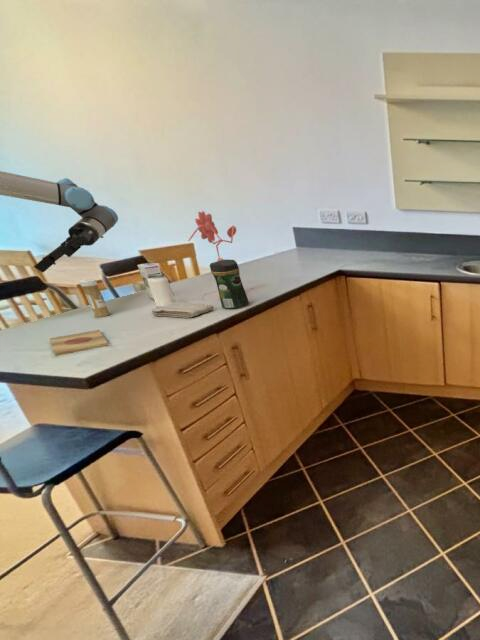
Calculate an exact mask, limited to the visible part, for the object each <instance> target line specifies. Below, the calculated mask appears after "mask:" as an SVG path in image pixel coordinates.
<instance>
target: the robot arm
mask: <svg viewBox="0 0 480 640" xmlns="http://www.w3.org/2000/svg"><path fill="white" fill-rule="evenodd" d="M0 196H5V197H11V198H16V199H20V200H21V199H22V200H27V201H33V202H39V203H44V204H50V205H55V206H56V205H57V206H59V207H66V208H70V209H71V210H73V211H74V212H75V213H76V214H77V215H79V216H80V217H81V218H80V219H79V220H77V222H75V223H74V224H73V225H72V226H71V227H69V228H68V230H67V232H68V235H69V236H68V237H66V239H65V240H64V241H62V242H61V243H60V245H59V246H57V247H56V248H55V249H54V250H52V251H51V252H49V253H48V254H46V255H45V256H43V257H42V259H41V260H40V261H38V262H37V263H36V264H34V265H33V268H35V269H36V270H37V271H39V272H40V273H45V272H46V271H47V270H48V269H49V268H51V267H52V266H53V265H54V266H55V265H57V263H56V261H58V260H60V258H62V257H63V256H66V257H68V258H71V257H72V256H73V255H74V254H75V253H76V252H78V251H79V250H80V249H81V248H82V247H83V246H92V245H94V244H96V243H97V241H98V240H99V239H104V235H105V234H106V233H107V232H109V231H110V230H111V229H112V228H113V227H115V225H116V224H117V223H118V221H119V216H118V214H117V213H116V211H115V210H114V209H112V208H110V207H109V206H106V205H101V204H98V203H97V202H95V199H94V196H93V194H91V193H90V191H89V190H87V189H85V188H84V187H81V186H78V184H77V183H75V182H73V181H72V180H71V179H69V178H66V177H64V178H63V179H62V178H61V179H60V180H58V181H57V182H55V181H51V180H50V181H49V180H45V179H40V178H36V177H31V176H26V175H21V174H16V173H11V172H6V171H2V170H0Z"/></svg>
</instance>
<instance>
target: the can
mask: <svg viewBox="0 0 480 640" xmlns="http://www.w3.org/2000/svg"><path fill="white" fill-rule="evenodd" d="M147 278H148V284H149V287H150V290H151V292H152V295H153V297H154V299H153V300H154V302H155V305H156V307H160V306H166V305H169V304H171V303H174V302H177V301H176V299H175V296H174V293H173V290H172V287H171V284H170V282H169V279H168V278H167V277H166V274H162V275H152V276H148V277H147Z"/></svg>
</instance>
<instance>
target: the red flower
mask: <svg viewBox="0 0 480 640" xmlns="http://www.w3.org/2000/svg"><path fill="white" fill-rule="evenodd" d="M197 215H198V218H195V219H194V222H195V223H196V225H197V228H196V229H195V230H194V231H193V233H192V234H191V236H190V237H189V239H188V240H187V241H188V242H190V241H191V239H192V238H193V237H194V236H195V234H196V233H197V231H198V232H200V233H201V234H200V237H201V239H202V240H206V239H207V242H209V243H210V244H211V243H212V245H215V249H216V252H217V257H218V259H217V260H216V262H217V261H221V260H225V259H224V258H222V257H220V253H219V247H218V246H219V245H221V243H223V242H225V243H229V244H232V243H233V239H234V236H235V235H236V233H237V227H236V226H235V225H232V226H230V227H229V228H228V229H227V230H226V234H227V236H228V237H229V238H230V240H225V239H222V238H221V237H220V236H219V235H218V234H219V231H218V229H217V226H216V225H215V222H214V221H213V216H212V214H211V213H207V214H206V212H205V211H204V210H202V211H197ZM216 237H217V238H218V240H216ZM251 289H254V288H252V287H251V288H250V290H251ZM216 292H217V293H218V290H216V291H212V292H211V294H212V293H216ZM208 294H210V292H209V293H207V294H206V293H205V294H204V295H203V297H205V296H207V295H208ZM219 299H220V296H219ZM203 300H204V301H205V300H206V299H205V298H203Z"/></svg>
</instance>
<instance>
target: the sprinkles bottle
mask: <svg viewBox="0 0 480 640" xmlns="http://www.w3.org/2000/svg"><path fill="white" fill-rule="evenodd" d="M78 283H79V286H80V287H81V289H82V290H83V292H84V294H85V297H86V299H87V302H88V305H89V306H90V308H91V310H92V312H93V314H94V317H96V318H102V317H107V316H110V315H111V312H110V310H109V308H108V306H107V303H106V301H105V299H104V296H103V295H102V292H101V290H100V288H99V286H98V281H97V279H96V278H95V279H94V278H87V279H81V280H79V281H78Z"/></svg>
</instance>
